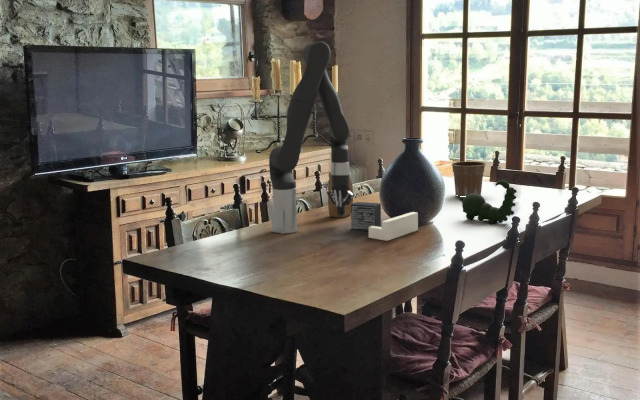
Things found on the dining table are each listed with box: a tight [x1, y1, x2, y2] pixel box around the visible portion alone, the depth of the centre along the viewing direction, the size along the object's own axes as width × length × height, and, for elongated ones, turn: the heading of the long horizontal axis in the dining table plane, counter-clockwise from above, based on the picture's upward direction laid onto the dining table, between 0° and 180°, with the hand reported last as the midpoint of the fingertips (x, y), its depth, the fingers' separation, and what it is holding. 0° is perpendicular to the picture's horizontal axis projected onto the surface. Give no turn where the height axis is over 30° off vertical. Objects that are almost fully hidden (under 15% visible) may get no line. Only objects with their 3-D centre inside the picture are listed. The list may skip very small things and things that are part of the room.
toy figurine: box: [457, 180, 517, 224], centre depth 279 cm, size 9×19×25 cm
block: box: [327, 171, 354, 219], centre depth 295 cm, size 11×8×20 cm
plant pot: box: [450, 160, 486, 196], centre depth 334 cm, size 16×16×16 cm
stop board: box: [368, 211, 419, 241], centre depth 262 cm, size 20×8×7 cm, turn 139°
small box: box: [350, 201, 382, 232], centre depth 270 cm, size 11×6×10 cm, turn 65°
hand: (340, 215), depth 279 cm, fingers closed
